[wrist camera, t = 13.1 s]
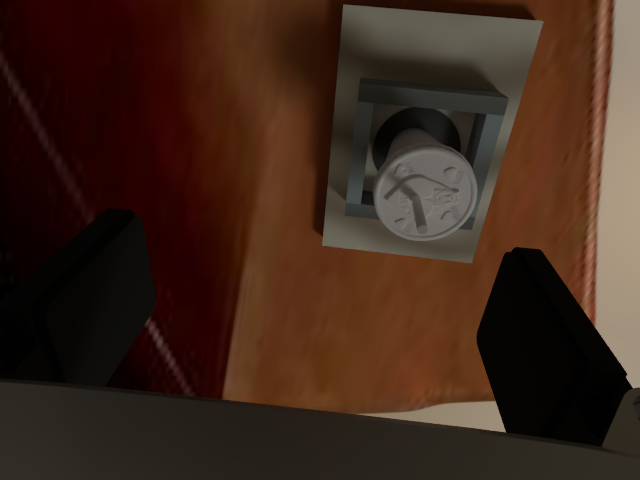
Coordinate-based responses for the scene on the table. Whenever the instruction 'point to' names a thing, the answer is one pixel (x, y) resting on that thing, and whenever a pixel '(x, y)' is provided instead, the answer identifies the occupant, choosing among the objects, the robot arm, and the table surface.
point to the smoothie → (423, 187)
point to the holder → (421, 112)
